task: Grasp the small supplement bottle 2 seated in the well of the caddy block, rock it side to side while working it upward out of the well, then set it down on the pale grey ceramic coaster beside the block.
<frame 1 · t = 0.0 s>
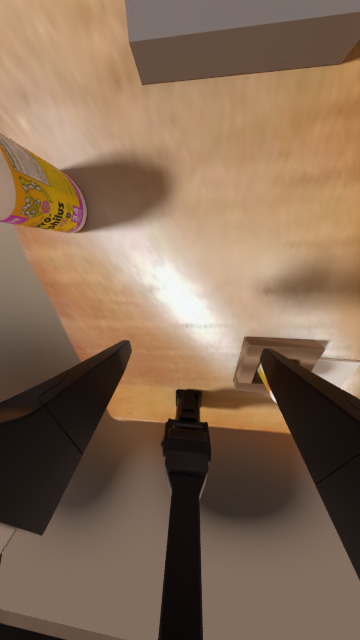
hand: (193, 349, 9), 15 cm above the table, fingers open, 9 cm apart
caddy block: (268, 362, 27), on the table
supplement bottle: (66, 205, 18), on the table
coaster: (320, 375, 28), on the table
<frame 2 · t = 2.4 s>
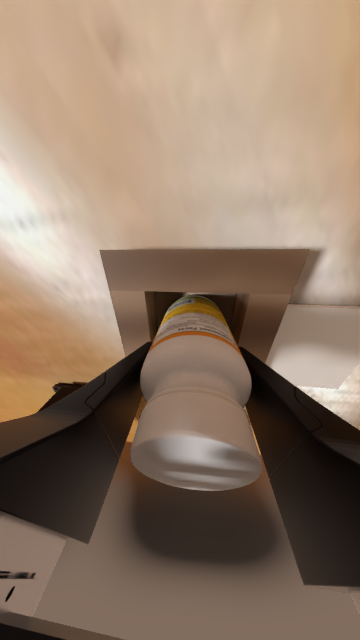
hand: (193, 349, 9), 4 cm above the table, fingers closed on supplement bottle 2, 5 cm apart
caddy block: (193, 321, 13), on the table
supplement bottle 2: (193, 320, 13), resting in caddy block, touching gripper
coaster: (306, 349, 13), on the table
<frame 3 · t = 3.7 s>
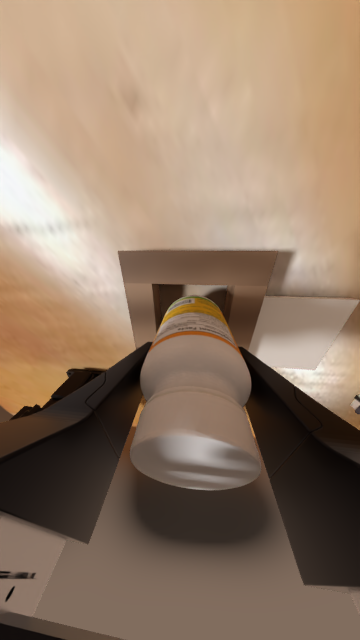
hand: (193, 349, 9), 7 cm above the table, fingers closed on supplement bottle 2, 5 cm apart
caddy block: (191, 311, 15), on the table
supplement bottle 2: (193, 320, 13), point 2 cm above the table, touching gripper
coaster: (286, 334, 15), on the table
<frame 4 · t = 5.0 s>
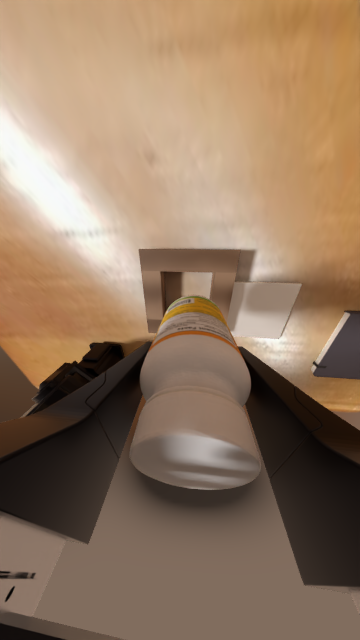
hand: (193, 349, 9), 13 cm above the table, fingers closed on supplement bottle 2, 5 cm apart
caddy block: (187, 293, 21), on the table
supplement bottle 2: (193, 320, 13), point 9 cm above the table, touching gripper
coaster: (256, 311, 21), on the table
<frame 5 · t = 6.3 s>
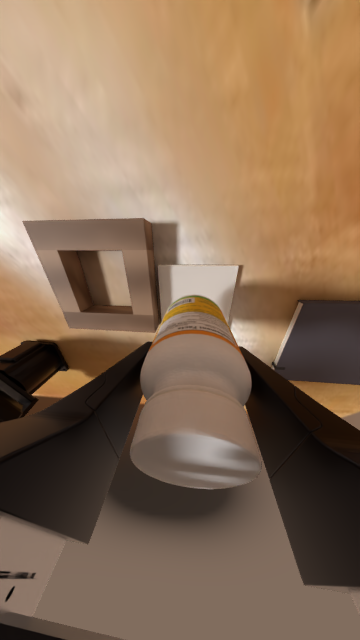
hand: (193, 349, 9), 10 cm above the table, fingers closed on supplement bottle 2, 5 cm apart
caddy block: (110, 280, 17), on the table
notebook: (358, 342, 19), on the table
supplement bottle 2: (193, 319, 13), point 5 cm above the table, touching gripper
coaster: (195, 301, 17), on the table
when the fingers open (6 cm above the table, at t = 7.3 s): supplement bottle 2 drops 1 cm, resting on coaster.
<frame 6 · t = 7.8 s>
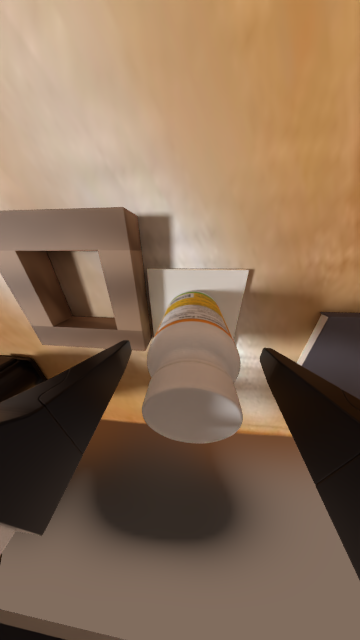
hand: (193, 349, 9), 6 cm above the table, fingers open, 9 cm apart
caddy block: (91, 287, 14), on the table
supplement bottle 2: (192, 314, 14), resting on coaster
coaster: (193, 313, 14), on the table
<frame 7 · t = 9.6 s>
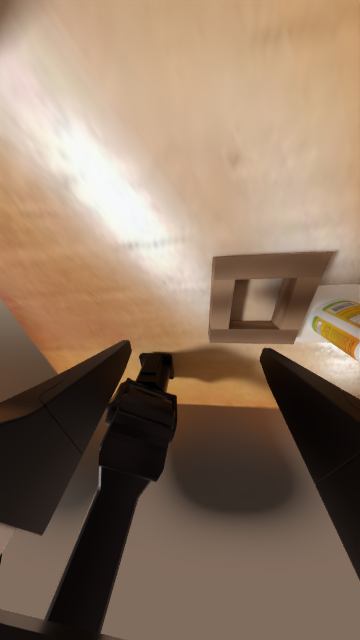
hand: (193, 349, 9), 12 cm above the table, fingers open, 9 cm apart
caddy block: (251, 300, 20), on the table
supplement bottle 2: (329, 316, 19), resting on coaster
coaster: (327, 315, 19), on the table
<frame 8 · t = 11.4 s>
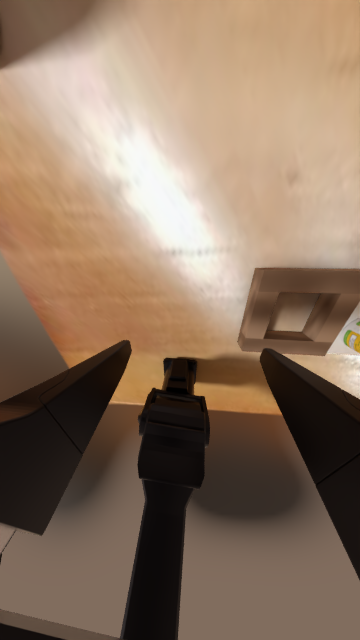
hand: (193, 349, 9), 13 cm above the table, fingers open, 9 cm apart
caddy block: (286, 311, 20), on the table
supplement bottle 2: (359, 330, 20), resting on coaster
coaster: (357, 329, 20), on the table
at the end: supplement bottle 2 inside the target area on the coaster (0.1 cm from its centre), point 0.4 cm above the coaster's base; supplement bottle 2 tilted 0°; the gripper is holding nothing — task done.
